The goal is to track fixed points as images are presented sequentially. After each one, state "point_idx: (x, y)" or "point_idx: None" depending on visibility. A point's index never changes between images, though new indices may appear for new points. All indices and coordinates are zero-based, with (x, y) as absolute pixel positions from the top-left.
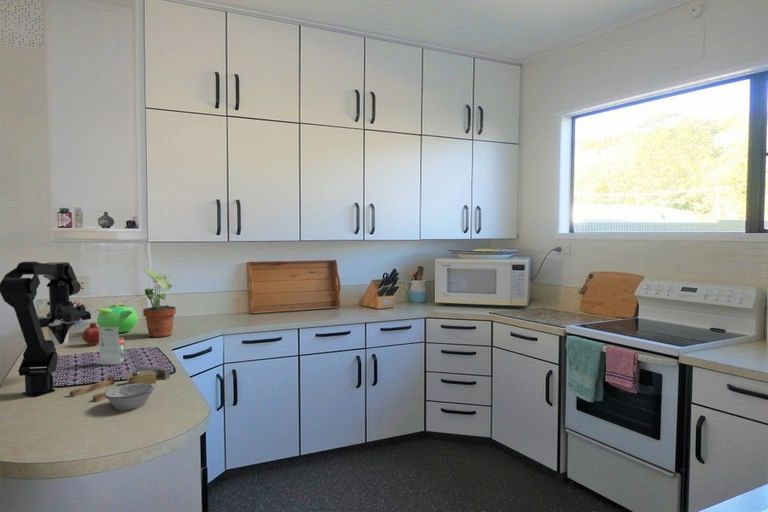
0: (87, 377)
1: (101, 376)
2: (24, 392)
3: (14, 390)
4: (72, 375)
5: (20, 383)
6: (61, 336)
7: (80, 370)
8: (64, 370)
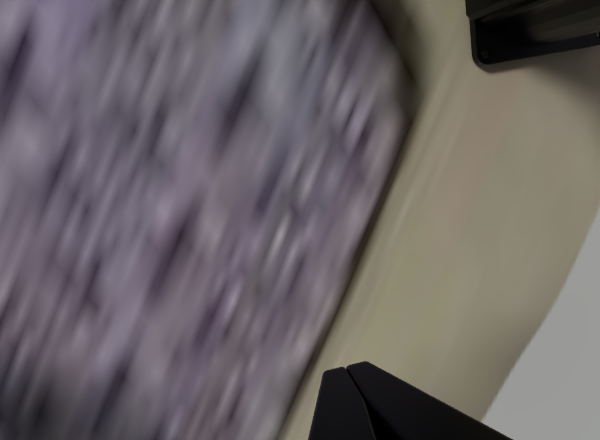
0: (146, 86)
1: (48, 7)
2: (596, 37)
3: (571, 187)
4: (200, 248)
5: (482, 321)
6: (427, 437)
7: (101, 345)
8: (182, 430)
